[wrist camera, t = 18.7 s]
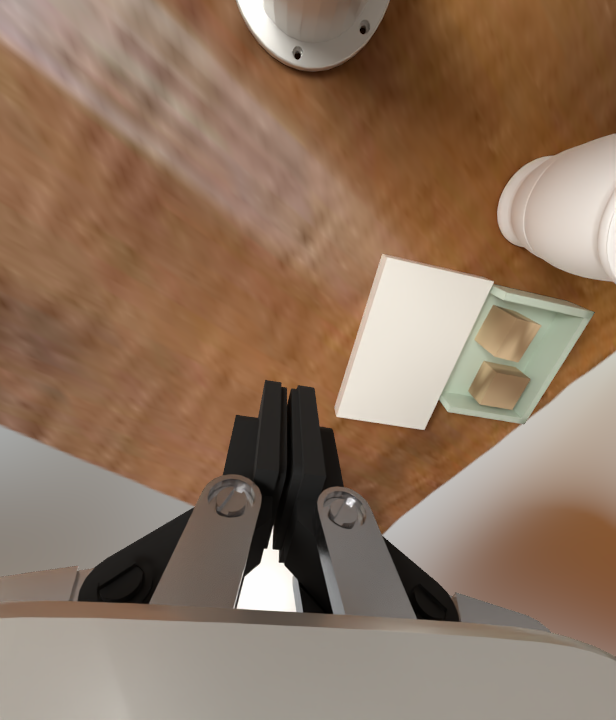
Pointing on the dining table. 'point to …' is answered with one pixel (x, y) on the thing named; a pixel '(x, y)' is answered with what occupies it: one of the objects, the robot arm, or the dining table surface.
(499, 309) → the tan faceted block
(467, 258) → the dining table surface
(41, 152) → the dining table surface
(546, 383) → the tray
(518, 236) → the jar
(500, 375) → the tan block
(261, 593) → the alcohol
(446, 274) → the board
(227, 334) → the dining table surface
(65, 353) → the dining table surface
